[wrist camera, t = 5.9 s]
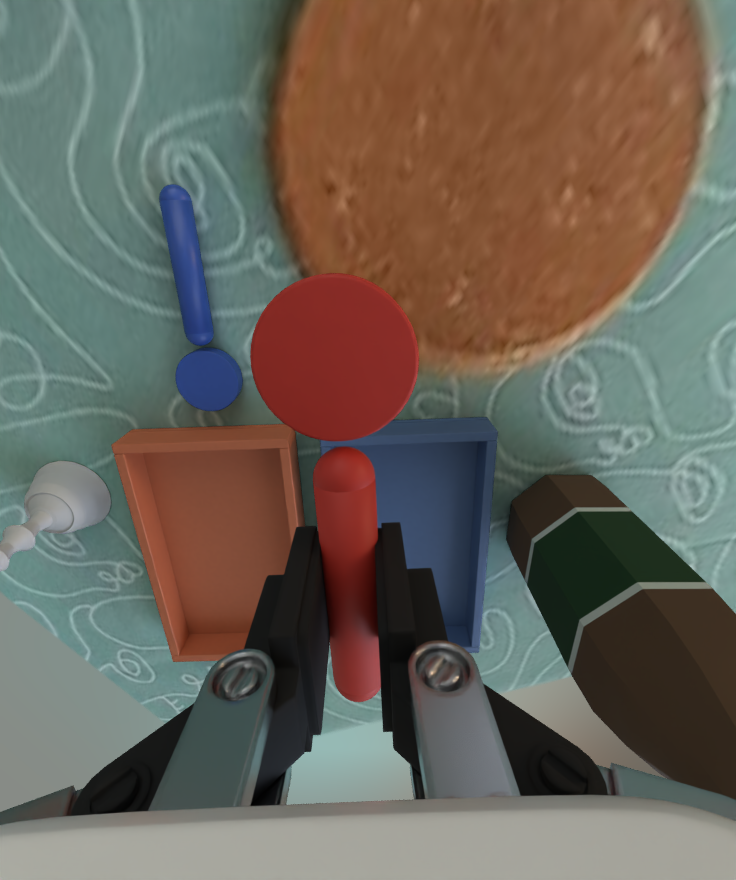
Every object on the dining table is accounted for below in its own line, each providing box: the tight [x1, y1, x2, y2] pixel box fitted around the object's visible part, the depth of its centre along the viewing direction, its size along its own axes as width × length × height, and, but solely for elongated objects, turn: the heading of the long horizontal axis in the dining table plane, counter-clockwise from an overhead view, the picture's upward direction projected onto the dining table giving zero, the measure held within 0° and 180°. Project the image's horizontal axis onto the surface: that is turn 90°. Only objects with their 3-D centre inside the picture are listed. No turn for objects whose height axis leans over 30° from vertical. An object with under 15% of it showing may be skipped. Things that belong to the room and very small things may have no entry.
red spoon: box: [250, 273, 419, 702], centre depth 11 cm, size 12×4×2 cm, turn 3°
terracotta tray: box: [111, 424, 305, 662], centre depth 29 cm, size 17×10×2 cm, turn 2°
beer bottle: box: [506, 475, 736, 800], centre depth 19 cm, size 8×8×24 cm
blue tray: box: [320, 417, 498, 653], centre depth 29 cm, size 17×10×2 cm, turn 2°
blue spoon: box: [159, 184, 243, 411], centre depth 24 cm, size 12×4×2 cm, turn 2°
